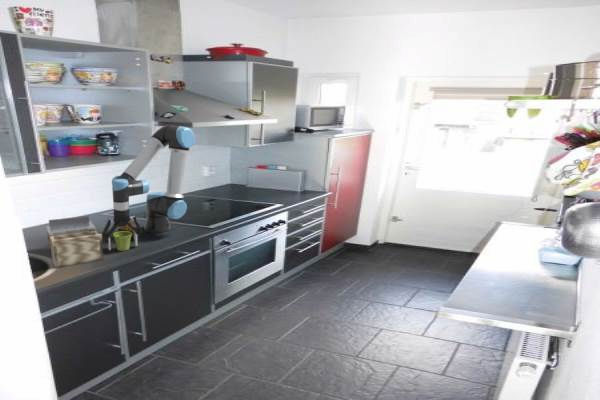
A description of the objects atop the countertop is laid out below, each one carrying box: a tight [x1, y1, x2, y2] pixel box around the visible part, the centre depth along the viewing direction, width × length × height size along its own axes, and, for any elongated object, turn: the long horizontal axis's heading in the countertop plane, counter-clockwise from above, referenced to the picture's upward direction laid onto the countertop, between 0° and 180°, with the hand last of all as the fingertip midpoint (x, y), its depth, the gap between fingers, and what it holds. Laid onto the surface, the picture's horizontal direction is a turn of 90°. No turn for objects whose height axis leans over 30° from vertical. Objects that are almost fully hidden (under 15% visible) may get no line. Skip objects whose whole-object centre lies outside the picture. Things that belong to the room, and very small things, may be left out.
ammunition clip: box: [117, 219, 136, 241], centre depth 226 cm, size 11×2×12 cm, turn 74°
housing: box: [46, 229, 104, 269], centre depth 200 cm, size 20×28×13 cm
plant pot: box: [112, 231, 132, 252], centre depth 211 cm, size 9×9×9 cm
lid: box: [46, 215, 97, 236], centre depth 204 cm, size 20×12×4 cm, turn 127°
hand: (123, 247), depth 212 cm, fingers open, 13 cm apart
